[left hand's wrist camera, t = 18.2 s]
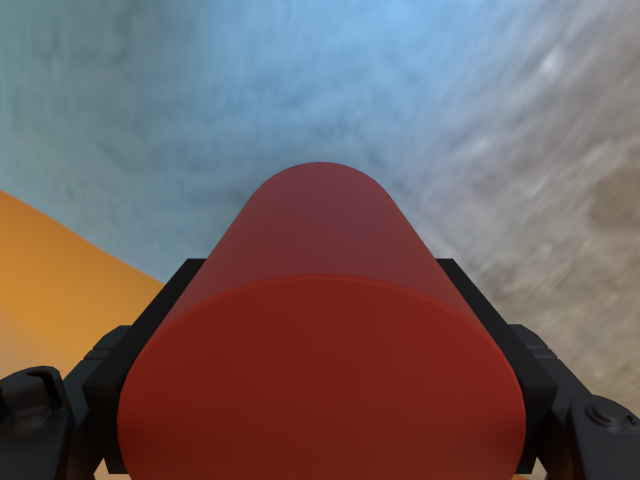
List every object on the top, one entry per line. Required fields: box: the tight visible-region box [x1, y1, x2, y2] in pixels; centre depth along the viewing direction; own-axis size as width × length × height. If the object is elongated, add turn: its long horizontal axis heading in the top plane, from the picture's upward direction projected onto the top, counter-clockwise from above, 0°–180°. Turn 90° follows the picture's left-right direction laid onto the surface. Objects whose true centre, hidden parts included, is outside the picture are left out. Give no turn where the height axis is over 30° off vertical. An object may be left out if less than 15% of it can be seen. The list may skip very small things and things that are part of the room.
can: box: [117, 162, 526, 480], centre depth 13 cm, size 9×9×12 cm
